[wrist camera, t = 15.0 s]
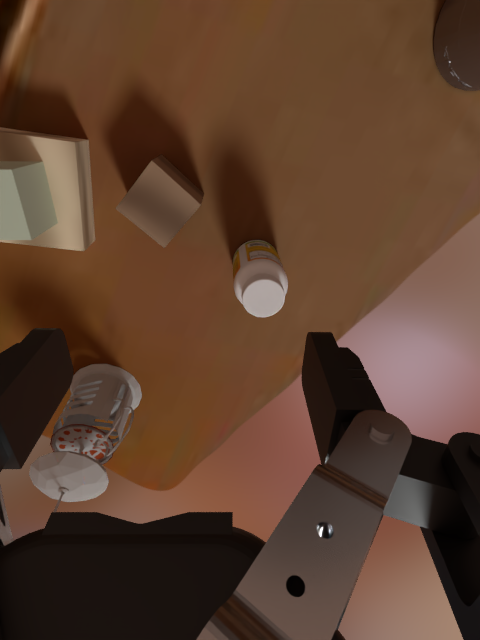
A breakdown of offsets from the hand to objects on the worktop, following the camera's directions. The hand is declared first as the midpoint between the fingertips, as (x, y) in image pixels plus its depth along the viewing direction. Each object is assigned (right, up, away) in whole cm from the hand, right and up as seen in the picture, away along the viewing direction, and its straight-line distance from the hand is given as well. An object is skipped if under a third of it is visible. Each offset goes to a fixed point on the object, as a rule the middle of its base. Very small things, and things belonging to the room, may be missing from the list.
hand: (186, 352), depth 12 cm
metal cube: (-6, +14, +25) cm, 30 cm away
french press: (-16, -8, +38) cm, 42 cm away
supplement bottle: (+4, +8, +29) cm, 31 cm away
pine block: (-18, +15, +25) cm, 34 cm away
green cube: (-19, +13, +21) cm, 31 cm away
